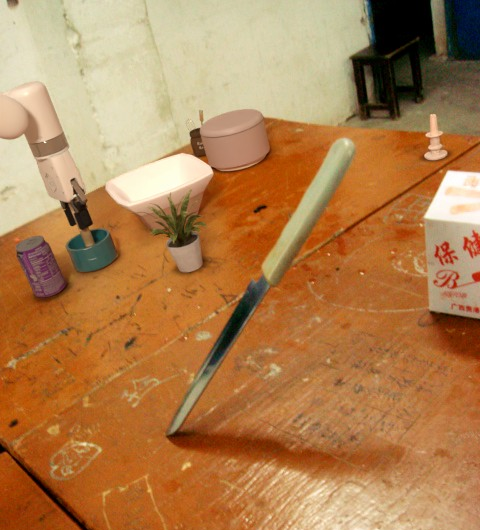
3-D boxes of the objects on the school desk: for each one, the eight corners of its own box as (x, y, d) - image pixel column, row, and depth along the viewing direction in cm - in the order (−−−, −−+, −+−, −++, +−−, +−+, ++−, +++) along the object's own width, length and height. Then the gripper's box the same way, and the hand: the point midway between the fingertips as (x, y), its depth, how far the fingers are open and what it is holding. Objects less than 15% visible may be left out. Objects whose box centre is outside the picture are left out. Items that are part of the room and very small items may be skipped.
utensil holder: (190, 155, 194) (178, 117, 188) (205, 147, 197) (194, 109, 191) (202, 157, 190) (191, 118, 184) (217, 149, 193) (207, 110, 187)
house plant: (158, 295, 126) (131, 221, 117) (148, 266, 138) (123, 197, 129) (226, 271, 128) (204, 196, 119) (210, 245, 139) (189, 175, 131)
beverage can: (44, 284, 143) (22, 236, 137) (72, 280, 141) (51, 232, 135) (30, 301, 137) (6, 253, 131) (59, 298, 135) (36, 249, 129)
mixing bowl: (89, 278, 140) (79, 254, 137) (67, 267, 147) (57, 245, 144) (126, 256, 145) (118, 233, 142) (104, 247, 152) (95, 225, 149)
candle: (437, 149, 153) (434, 106, 148) (452, 154, 149) (449, 110, 143) (419, 157, 152) (416, 114, 146) (433, 162, 148) (430, 118, 142)
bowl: (139, 251, 145) (123, 209, 140) (113, 220, 165) (98, 182, 160) (232, 213, 151) (220, 171, 145) (195, 187, 171) (184, 149, 165)
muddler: (93, 265, 144) (69, 206, 136) (86, 261, 146) (61, 203, 138) (107, 257, 145) (83, 199, 138) (99, 254, 148) (75, 196, 140)
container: (284, 148, 180) (275, 107, 173) (244, 175, 170) (233, 132, 164) (236, 146, 191) (227, 107, 185) (196, 171, 181) (185, 131, 175)
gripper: (16, 149, 135) (50, 226, 145) (51, 156, 124) (85, 240, 133) (47, 135, 139) (78, 212, 149) (84, 141, 127) (115, 224, 137)
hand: (81, 224), depth 141 cm, fingers open, 3 cm apart
